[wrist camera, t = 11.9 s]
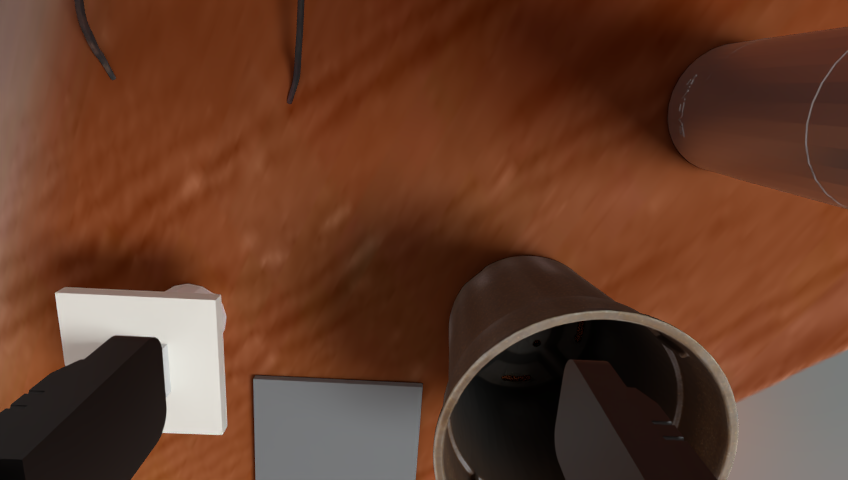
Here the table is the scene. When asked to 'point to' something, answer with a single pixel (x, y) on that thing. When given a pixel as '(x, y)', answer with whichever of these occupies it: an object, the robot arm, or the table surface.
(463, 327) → the plant pot
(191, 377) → the lid
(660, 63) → the table surface
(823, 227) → the table surface
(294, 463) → the mat
